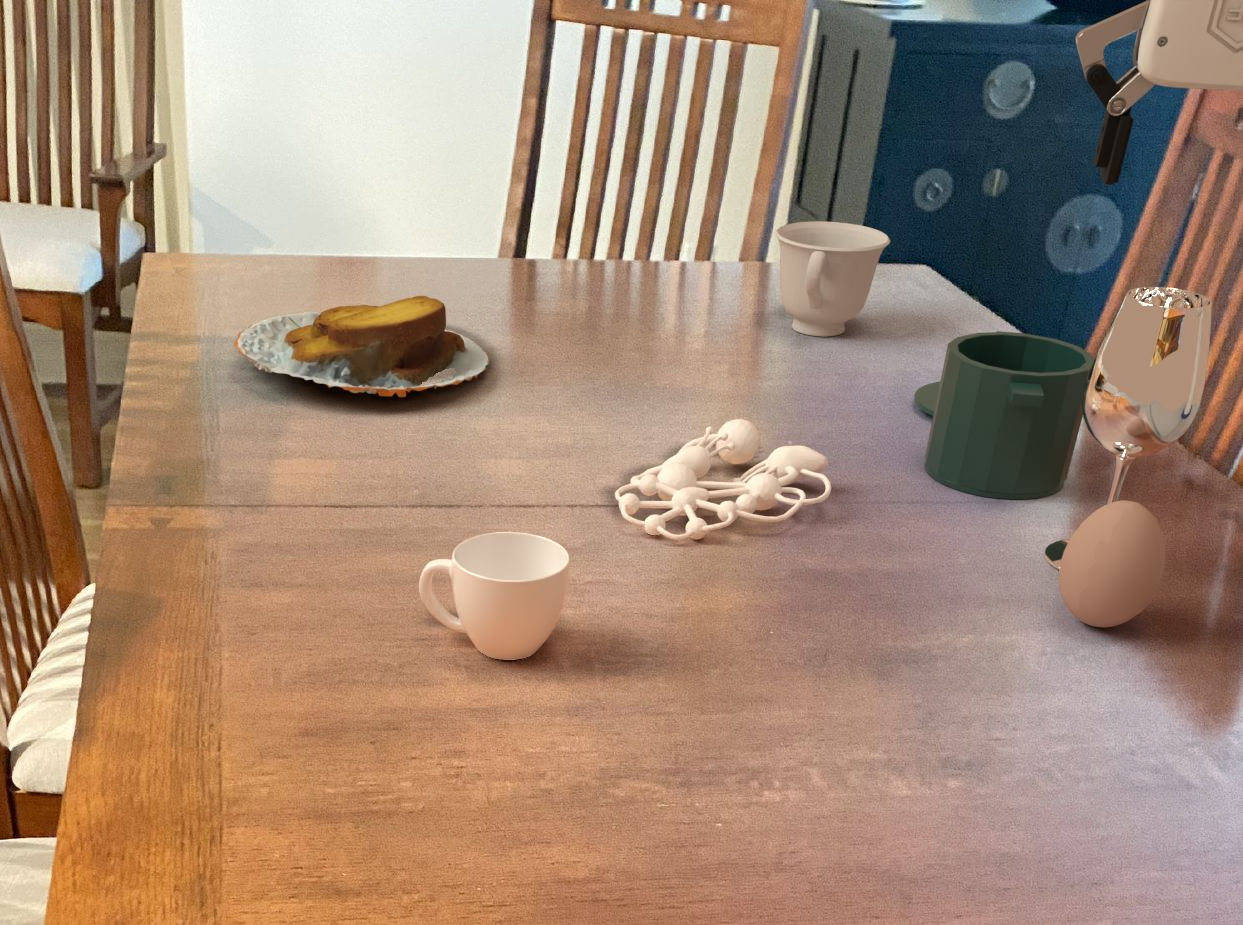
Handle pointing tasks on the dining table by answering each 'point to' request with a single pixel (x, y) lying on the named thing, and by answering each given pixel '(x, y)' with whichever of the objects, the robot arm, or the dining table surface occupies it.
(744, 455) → the tangled rod sculpture
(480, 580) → the cup
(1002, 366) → the pot
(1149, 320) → the wineglass
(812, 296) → the teacup
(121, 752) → the dining table surface
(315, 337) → the food on plate
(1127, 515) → the egg
